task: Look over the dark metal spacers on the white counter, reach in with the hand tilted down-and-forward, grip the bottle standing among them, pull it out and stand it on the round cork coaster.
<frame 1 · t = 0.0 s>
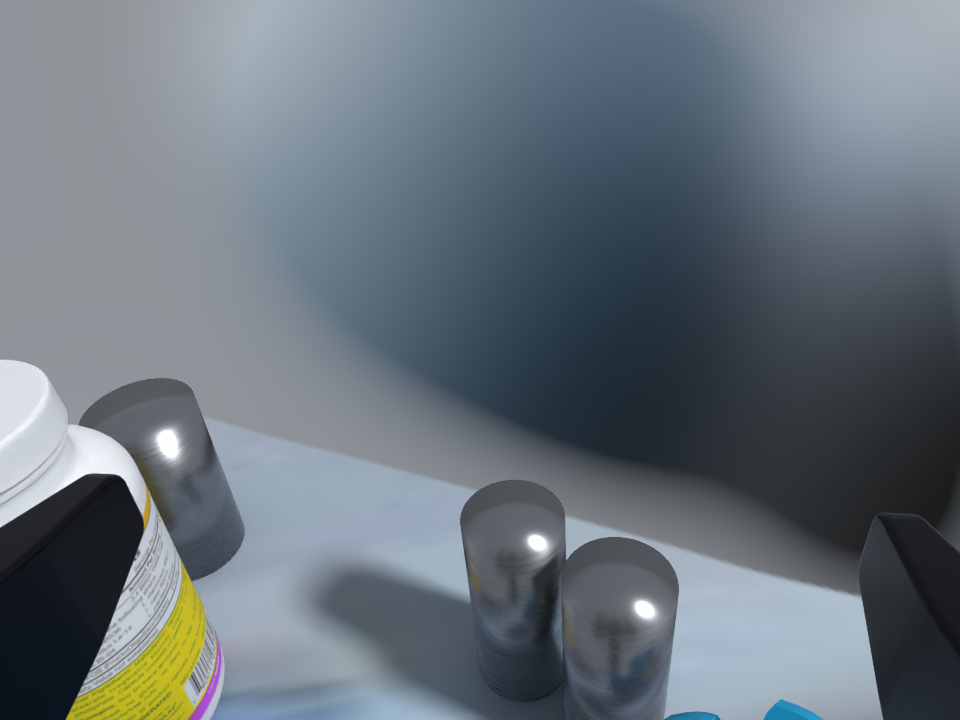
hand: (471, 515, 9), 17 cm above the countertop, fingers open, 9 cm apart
supplement bottle: (132, 710, 26), on the countertop
spacers: (293, 591, 29), on the countertop
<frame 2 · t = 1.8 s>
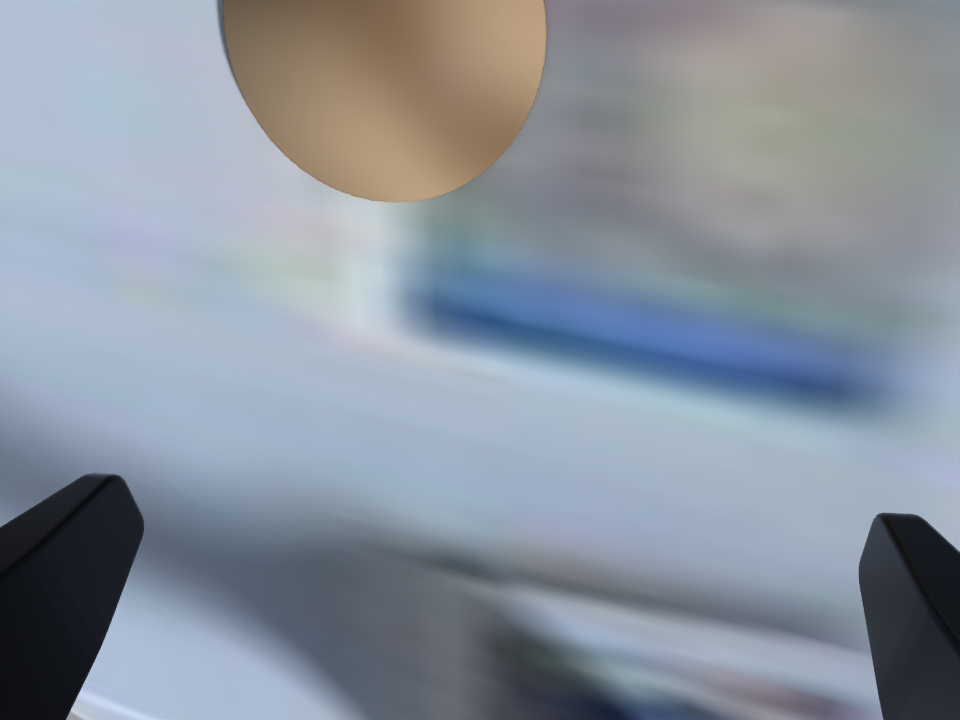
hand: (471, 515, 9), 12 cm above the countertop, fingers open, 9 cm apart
cork coaster: (383, 37, 18), on the countertop
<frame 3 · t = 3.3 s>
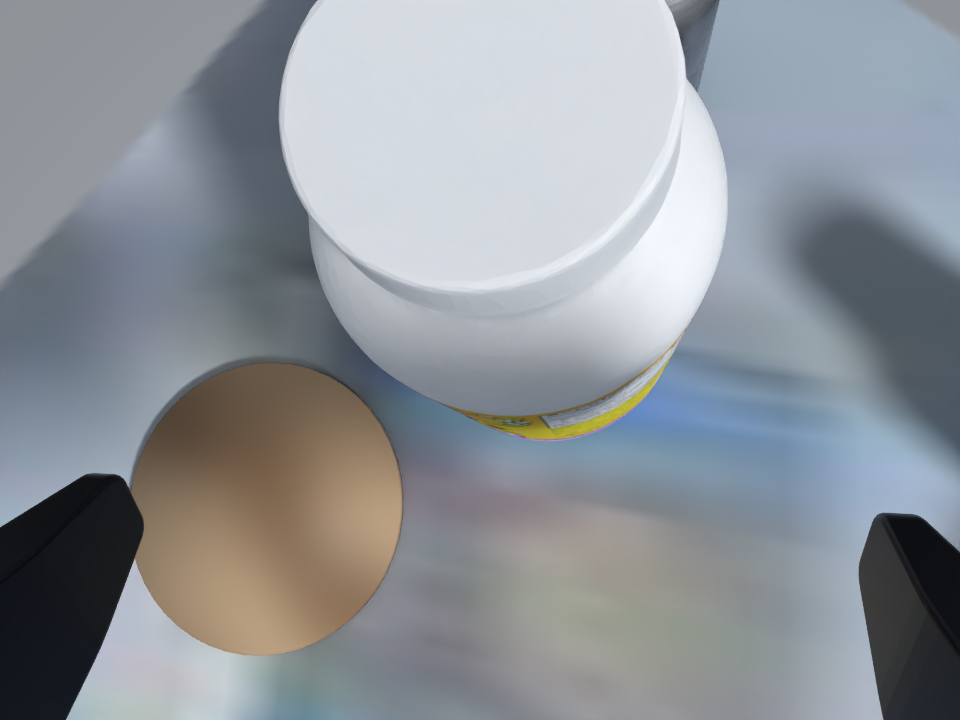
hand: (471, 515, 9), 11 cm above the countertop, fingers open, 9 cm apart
supplement bottle: (549, 326, 21), on the countertop
cork coaster: (265, 504, 21), on the countertop
spacers: (763, 220, 20), on the countertop
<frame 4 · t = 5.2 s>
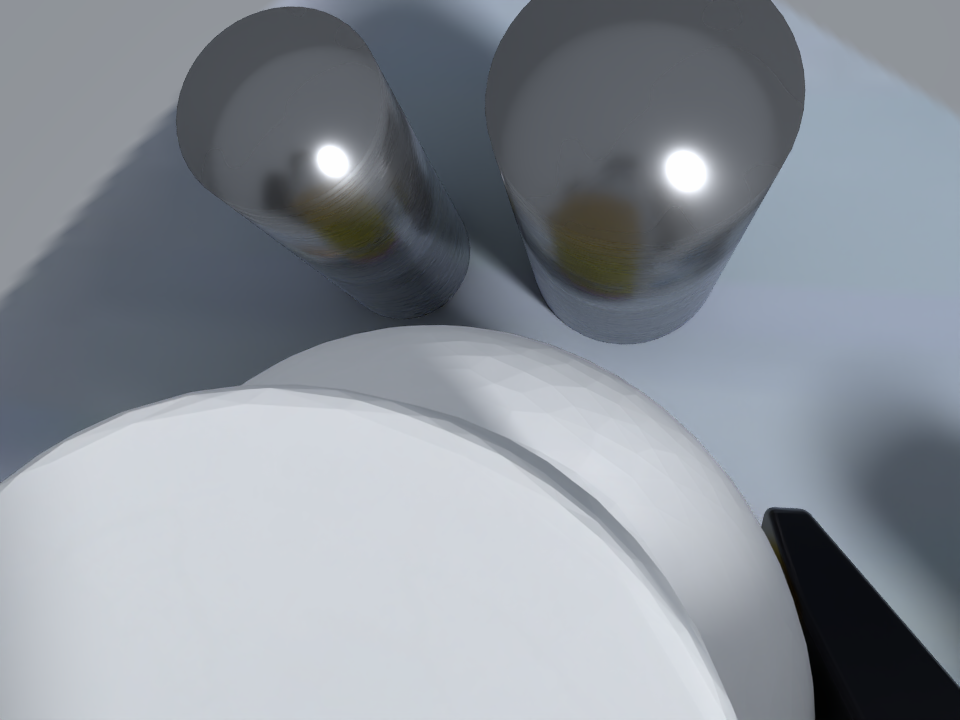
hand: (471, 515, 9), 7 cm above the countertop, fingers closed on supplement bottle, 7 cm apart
supplement bottle: (526, 568, 16), on the countertop, touching gripper
spacers: (810, 437, 15), on the countertop
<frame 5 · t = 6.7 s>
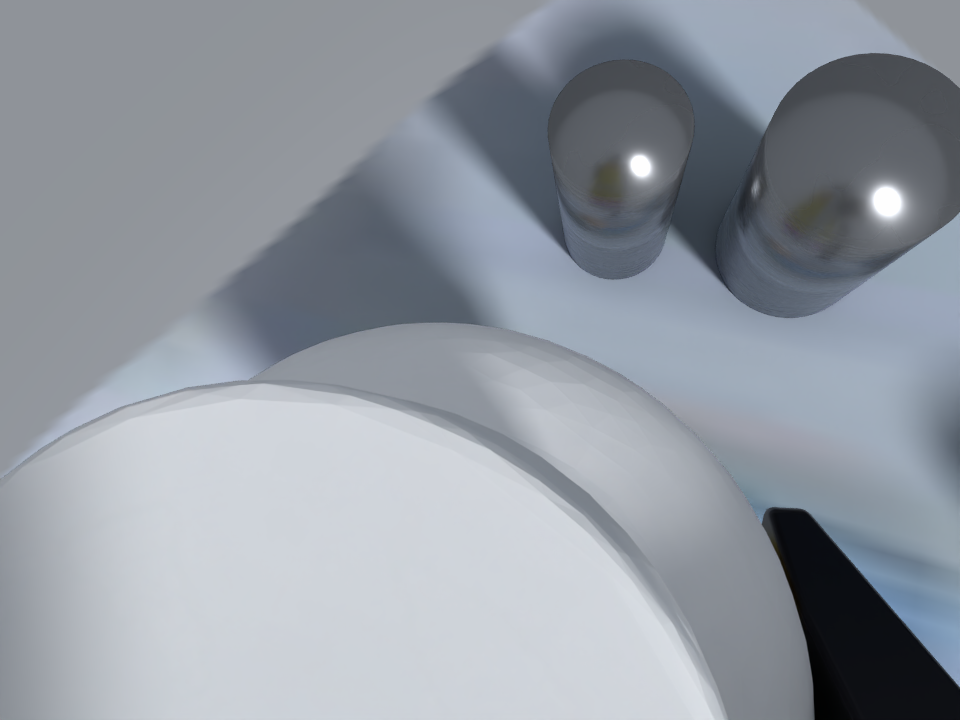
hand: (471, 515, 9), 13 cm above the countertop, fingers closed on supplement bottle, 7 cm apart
supplement bottle: (534, 565, 16), point 6 cm above the countertop, touching gripper
spacers: (915, 401, 21), on the countertop
when the fingers open (8 cm above the countertop, at t = 8.5 s): supplement bottle stays where it is, resting on cork coaster.
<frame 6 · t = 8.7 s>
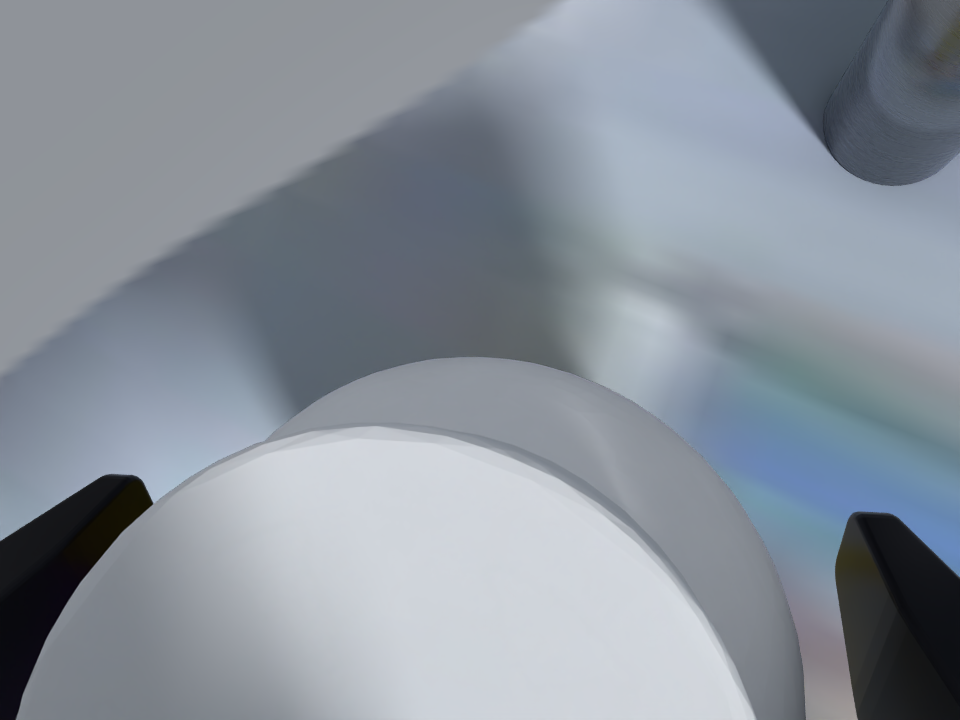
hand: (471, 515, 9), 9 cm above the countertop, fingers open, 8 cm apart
supplement bottle: (537, 571, 17), resting on cork coaster
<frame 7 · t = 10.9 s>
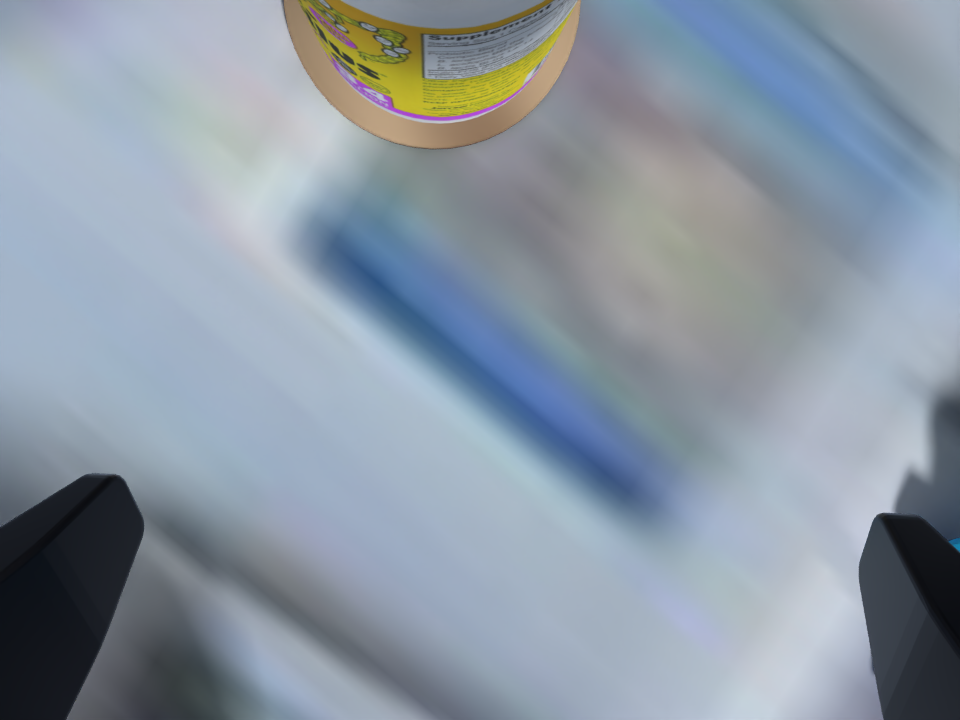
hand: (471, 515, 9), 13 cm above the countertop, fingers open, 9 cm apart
supplement bottle: (436, 7, 21), resting on cork coaster
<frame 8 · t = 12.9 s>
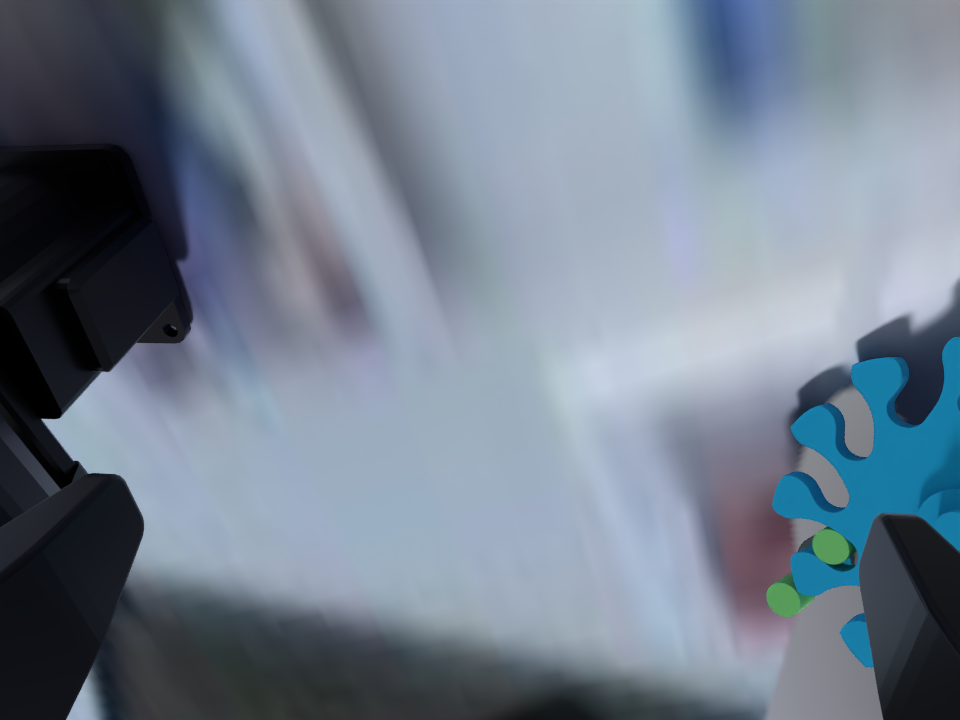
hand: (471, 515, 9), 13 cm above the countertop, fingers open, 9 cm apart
gear: (901, 435, 24), on the countertop
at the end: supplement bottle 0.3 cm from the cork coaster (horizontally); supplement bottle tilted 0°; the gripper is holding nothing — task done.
